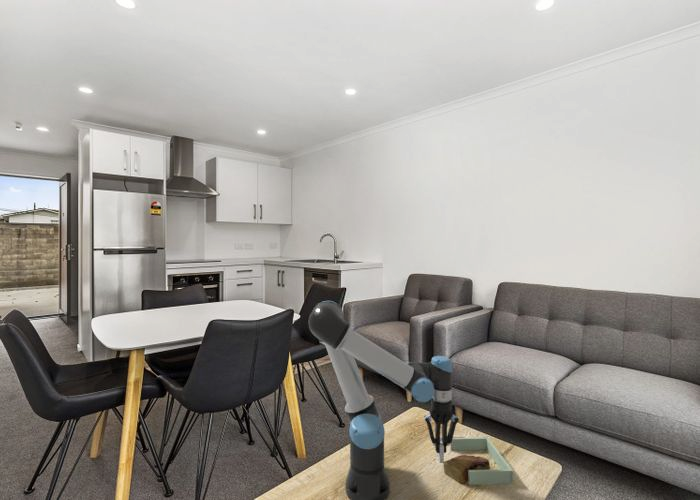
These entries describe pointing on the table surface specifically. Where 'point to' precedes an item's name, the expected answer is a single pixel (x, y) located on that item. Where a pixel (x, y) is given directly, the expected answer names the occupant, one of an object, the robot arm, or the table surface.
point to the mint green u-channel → (482, 443)
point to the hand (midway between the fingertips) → (440, 460)
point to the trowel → (453, 437)
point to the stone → (464, 467)
